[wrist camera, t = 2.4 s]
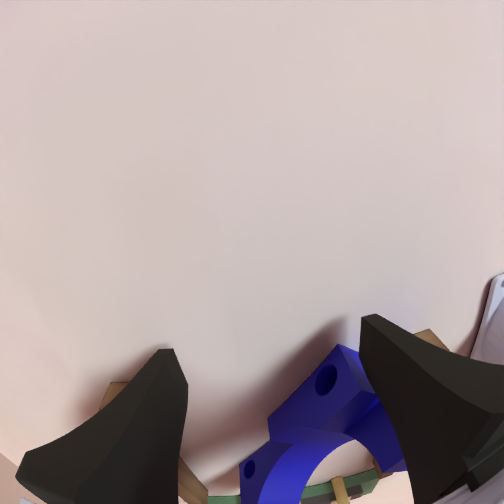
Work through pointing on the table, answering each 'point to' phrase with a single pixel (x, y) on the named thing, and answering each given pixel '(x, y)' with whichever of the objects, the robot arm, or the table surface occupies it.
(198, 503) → the guide rails
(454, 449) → the robot arm
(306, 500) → the header board
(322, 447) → the cable clip
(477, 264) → the table surface
